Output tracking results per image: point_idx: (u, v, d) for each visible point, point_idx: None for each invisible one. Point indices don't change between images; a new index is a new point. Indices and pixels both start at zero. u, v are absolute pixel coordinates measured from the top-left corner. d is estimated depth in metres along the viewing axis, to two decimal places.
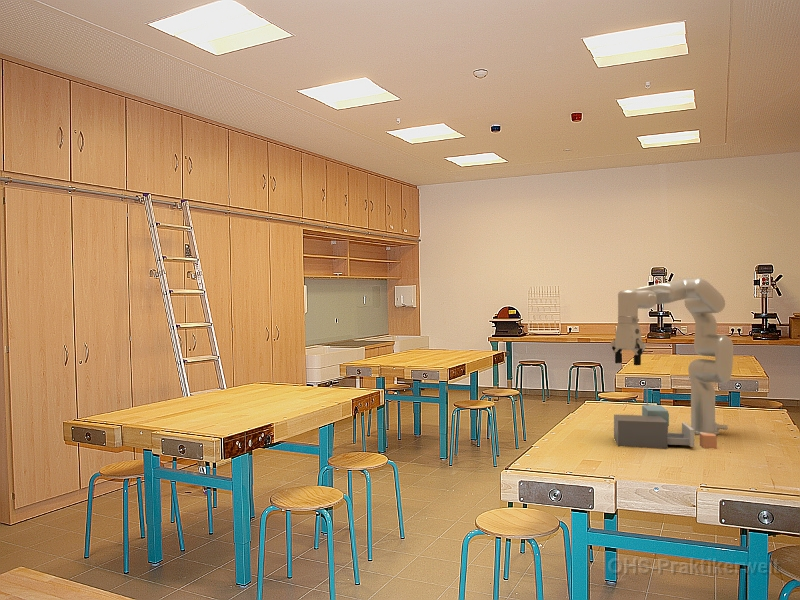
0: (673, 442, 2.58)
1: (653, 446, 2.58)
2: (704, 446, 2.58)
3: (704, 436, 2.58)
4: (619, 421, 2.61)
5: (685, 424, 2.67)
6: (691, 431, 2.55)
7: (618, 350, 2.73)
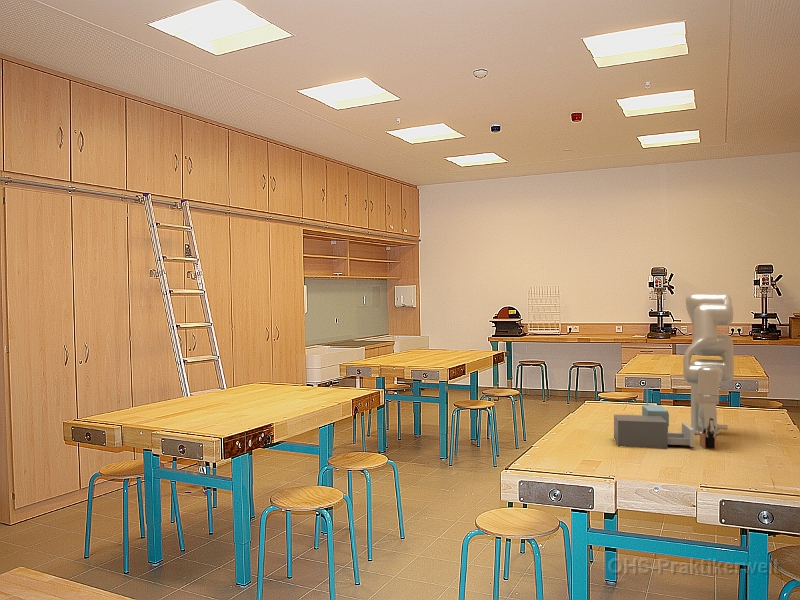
0: (673, 442, 2.58)
1: (653, 446, 2.58)
2: (704, 446, 2.58)
3: (704, 436, 2.58)
4: (619, 421, 2.61)
5: (685, 424, 2.67)
6: (691, 431, 2.55)
7: None
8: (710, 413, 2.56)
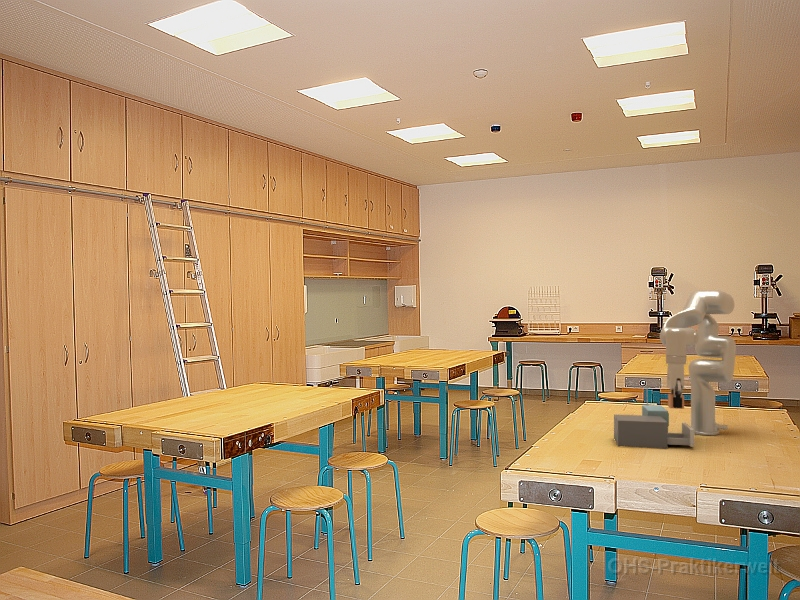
0: (673, 442, 2.58)
1: (653, 446, 2.58)
2: (672, 406, 2.62)
3: (672, 396, 2.62)
4: (619, 421, 2.61)
5: (685, 424, 2.67)
6: (691, 431, 2.55)
7: None
8: (677, 373, 2.59)
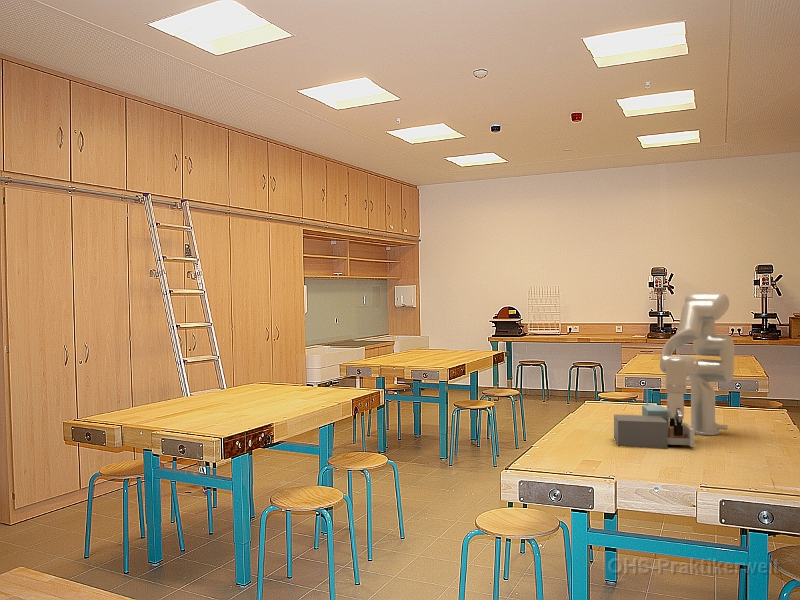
0: (673, 442, 2.58)
1: (653, 446, 2.58)
2: None
3: (672, 429, 2.62)
4: (619, 421, 2.61)
5: (685, 424, 2.67)
6: (691, 431, 2.55)
7: None
8: (677, 403, 2.59)
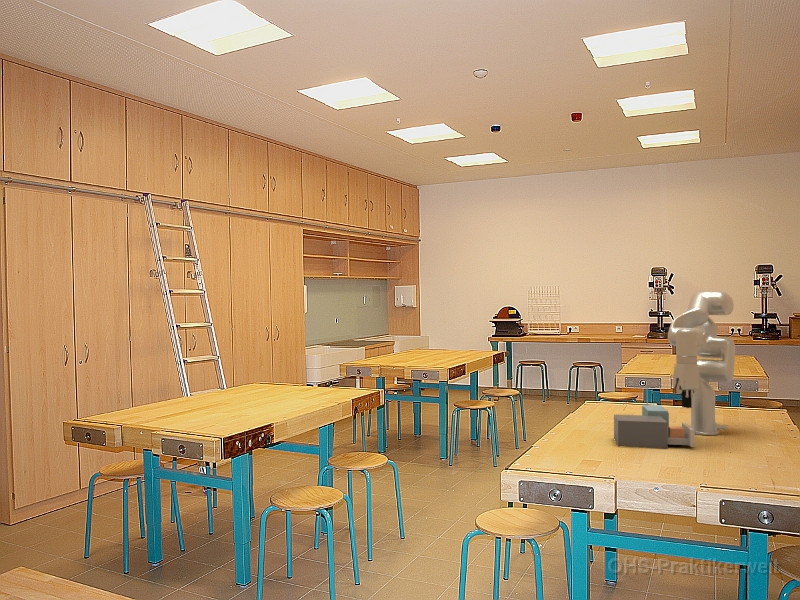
0: (673, 442, 2.58)
1: (653, 446, 2.58)
2: None
3: (672, 429, 2.62)
4: (619, 421, 2.61)
5: (685, 424, 2.67)
6: (691, 431, 2.55)
7: None
8: (677, 373, 2.61)
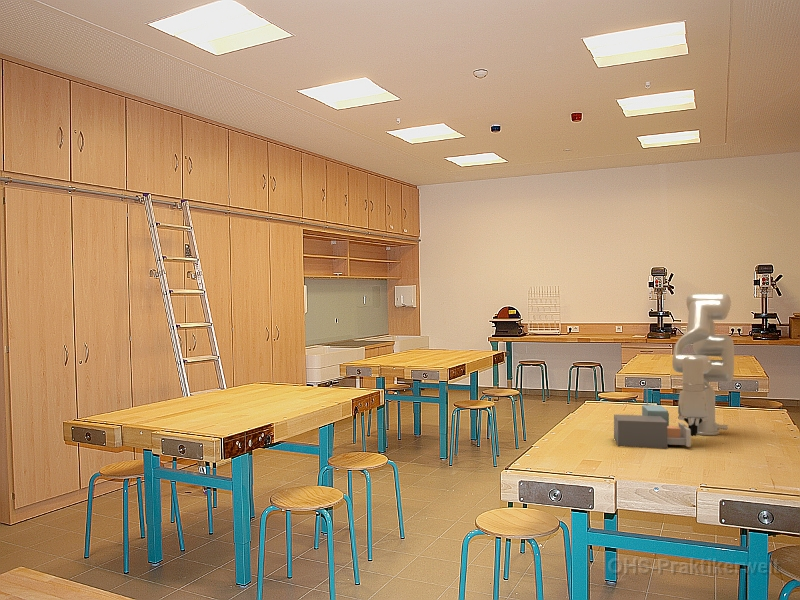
0: (669, 442, 2.59)
1: (653, 446, 2.58)
2: None
3: (668, 429, 2.62)
4: (619, 421, 2.61)
5: (681, 424, 2.67)
6: (687, 431, 2.56)
7: None
8: (679, 399, 2.64)
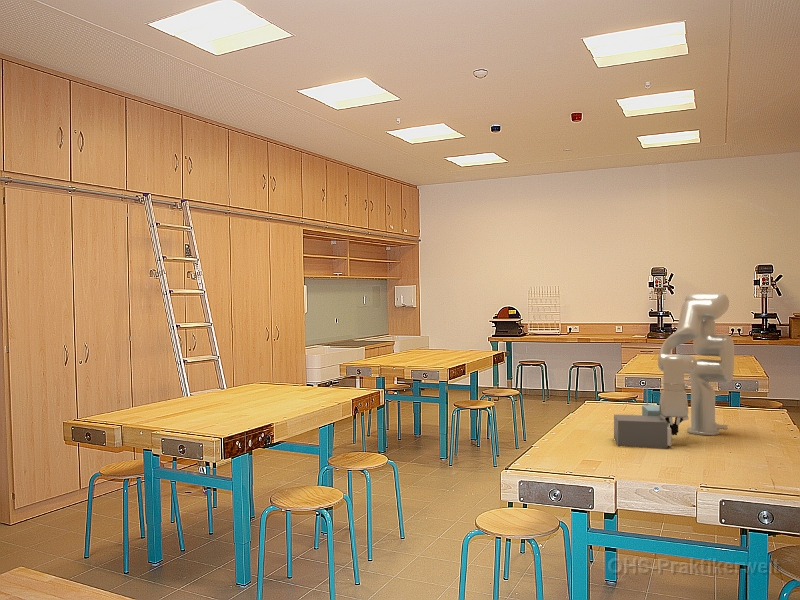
0: None
1: (653, 446, 2.58)
2: None
3: None
4: (619, 421, 2.61)
5: None
6: (668, 430, 2.57)
7: None
8: (660, 399, 2.65)
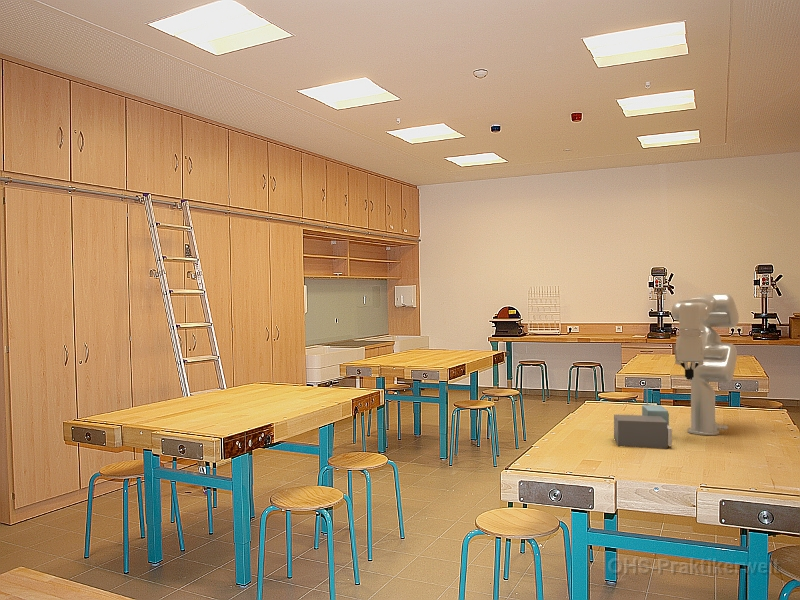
0: None
1: (653, 446, 2.58)
2: None
3: None
4: (619, 421, 2.61)
5: None
6: (669, 430, 2.57)
7: None
8: (676, 345, 2.72)
